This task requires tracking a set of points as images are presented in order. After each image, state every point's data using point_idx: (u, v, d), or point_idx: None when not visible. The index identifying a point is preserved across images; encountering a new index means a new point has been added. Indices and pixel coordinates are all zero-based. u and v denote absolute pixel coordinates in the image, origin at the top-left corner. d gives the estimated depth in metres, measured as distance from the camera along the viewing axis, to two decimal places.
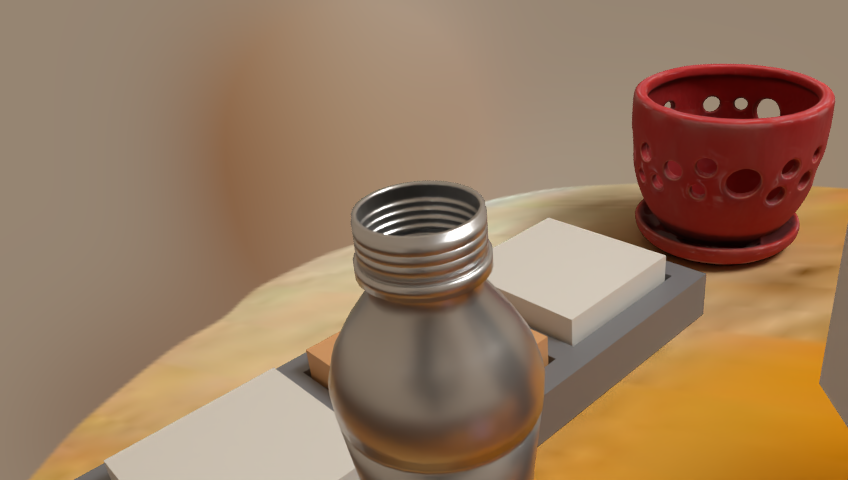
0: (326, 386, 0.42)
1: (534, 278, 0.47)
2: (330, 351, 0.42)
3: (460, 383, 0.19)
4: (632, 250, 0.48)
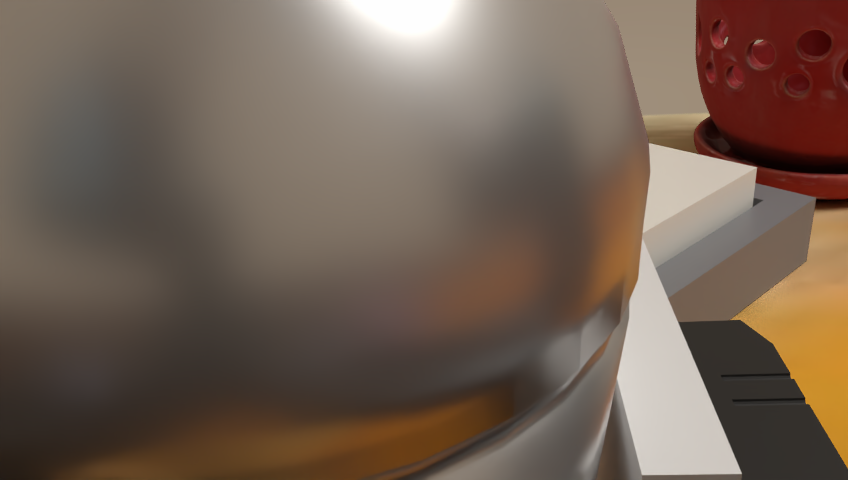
0: None
1: None
2: None
3: (248, 45, 0.04)
4: (703, 162, 0.32)
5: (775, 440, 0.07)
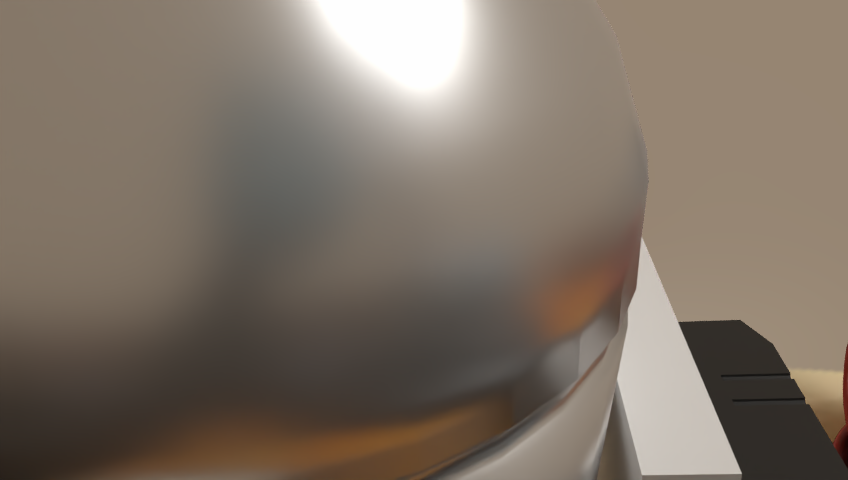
0: None
1: None
2: None
3: (247, 61, 0.04)
4: None
5: (775, 440, 0.07)
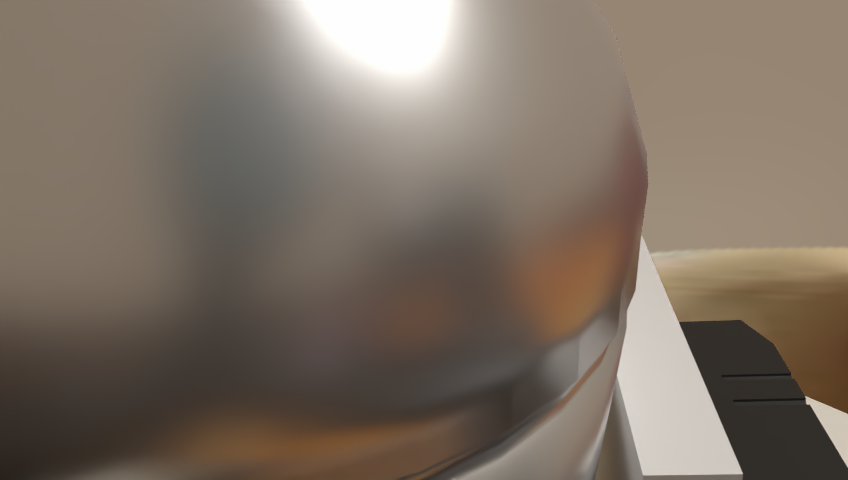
0: None
1: None
2: None
3: (250, 62, 0.04)
4: None
5: (776, 441, 0.07)
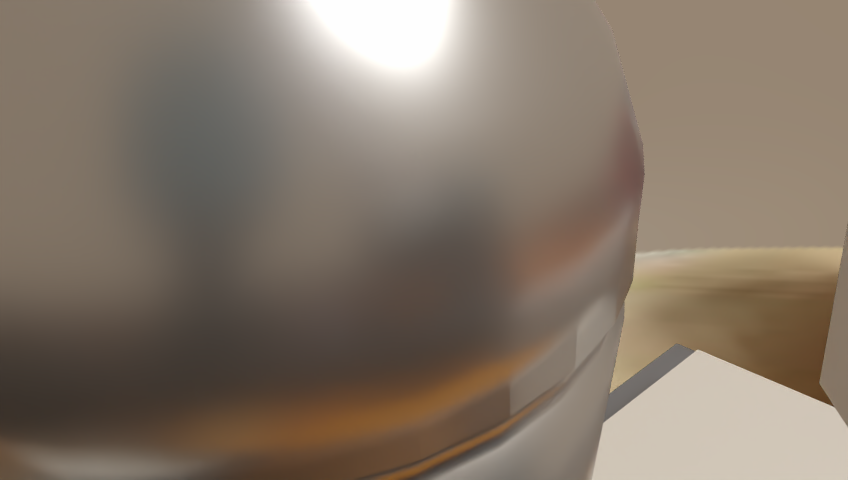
0: None
1: None
2: None
3: (247, 52, 0.04)
4: None
5: None
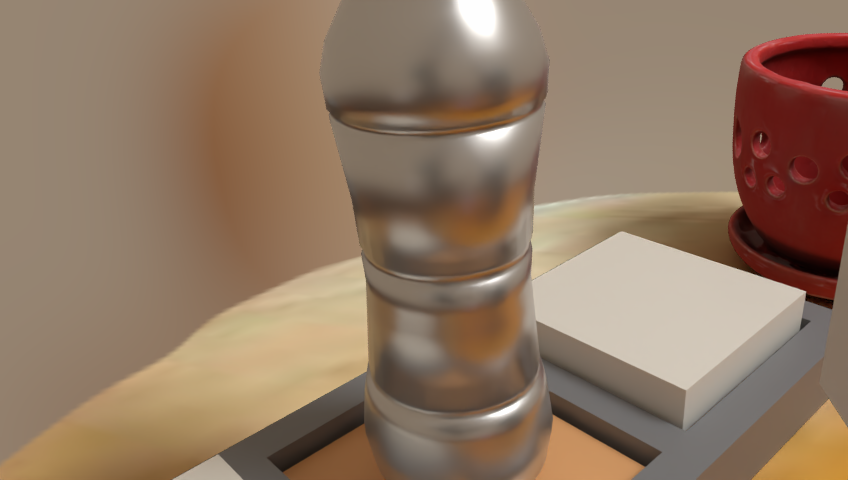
0: None
1: (615, 319, 0.32)
2: (317, 478, 0.28)
3: (460, 30, 0.18)
4: (753, 283, 0.33)
5: None
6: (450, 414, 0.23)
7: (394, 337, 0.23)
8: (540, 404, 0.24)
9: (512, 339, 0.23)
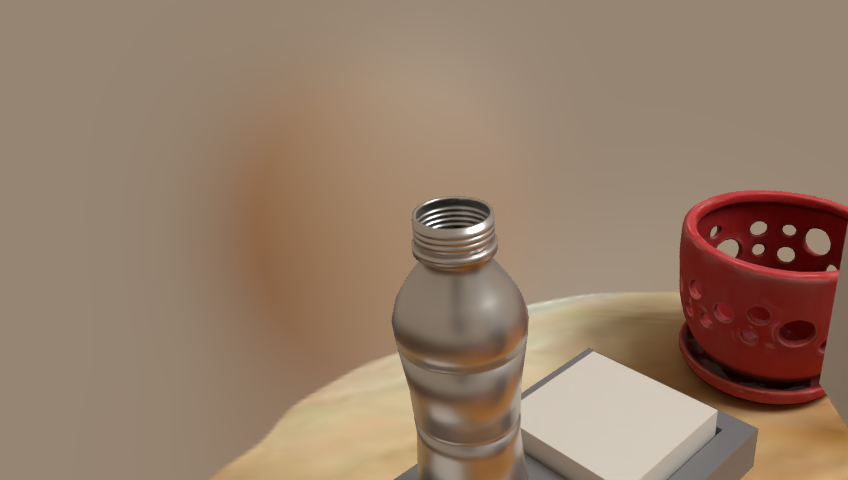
0: None
1: (583, 432, 0.46)
2: None
3: (476, 318, 0.32)
4: (682, 402, 0.47)
5: None
6: None
7: (436, 472, 0.37)
8: None
9: (508, 474, 0.37)
